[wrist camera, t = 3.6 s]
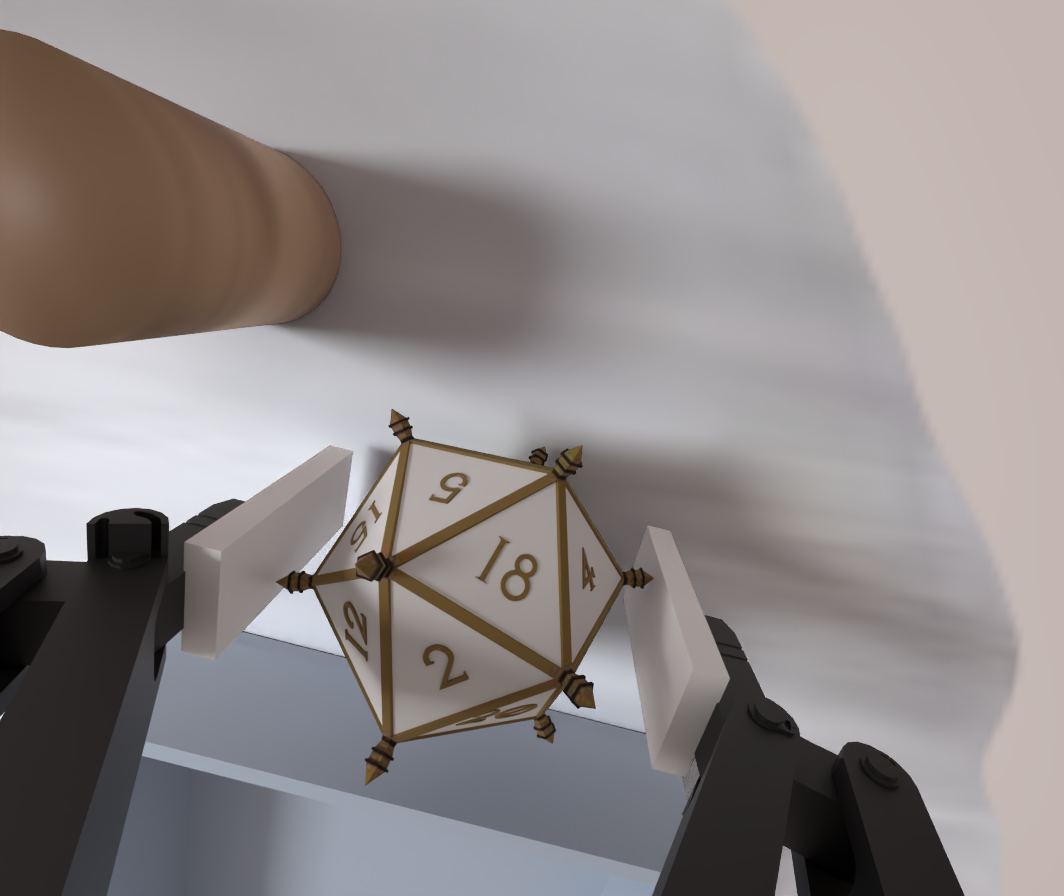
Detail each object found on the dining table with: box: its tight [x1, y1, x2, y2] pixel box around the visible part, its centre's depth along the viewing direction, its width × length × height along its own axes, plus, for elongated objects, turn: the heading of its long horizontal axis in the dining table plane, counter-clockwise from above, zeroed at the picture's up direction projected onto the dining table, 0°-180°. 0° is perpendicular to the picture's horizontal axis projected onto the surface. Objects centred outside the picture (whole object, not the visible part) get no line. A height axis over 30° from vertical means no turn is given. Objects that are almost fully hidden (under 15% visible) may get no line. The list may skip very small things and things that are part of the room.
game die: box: [276, 409, 653, 786], centre depth 14 cm, size 9×8×10 cm
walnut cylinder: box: [0, 30, 341, 348], centre depth 12 cm, size 5×5×7 cm
